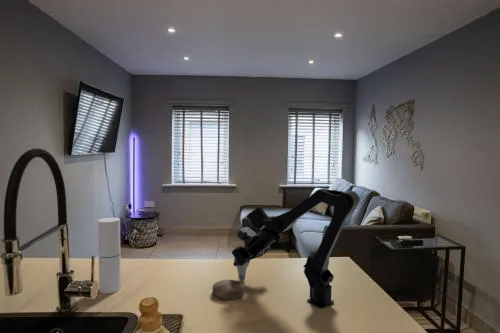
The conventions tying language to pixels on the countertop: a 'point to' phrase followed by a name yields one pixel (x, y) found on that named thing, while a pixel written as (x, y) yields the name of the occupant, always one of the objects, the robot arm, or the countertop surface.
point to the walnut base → (228, 290)
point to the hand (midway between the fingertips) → (239, 262)
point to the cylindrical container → (109, 255)
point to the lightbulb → (242, 270)
